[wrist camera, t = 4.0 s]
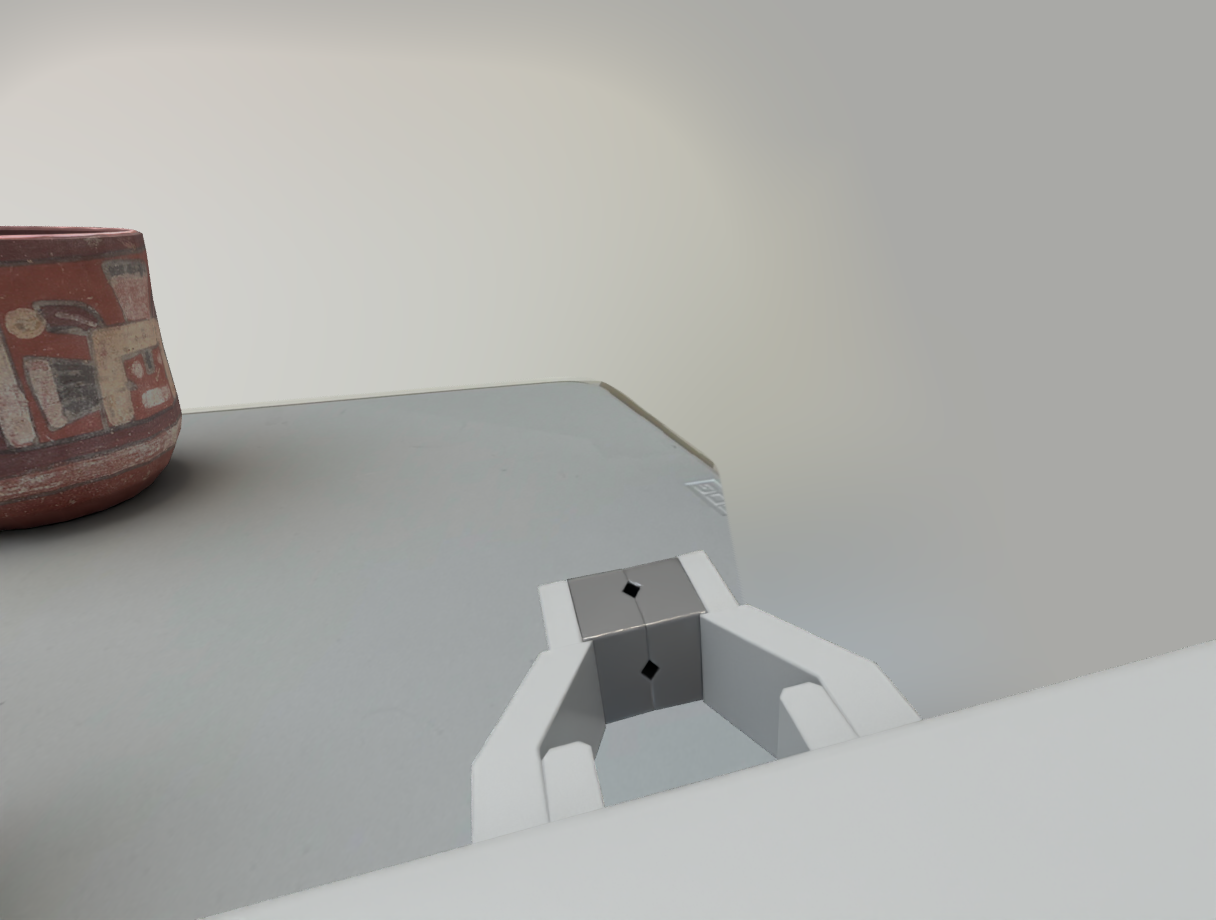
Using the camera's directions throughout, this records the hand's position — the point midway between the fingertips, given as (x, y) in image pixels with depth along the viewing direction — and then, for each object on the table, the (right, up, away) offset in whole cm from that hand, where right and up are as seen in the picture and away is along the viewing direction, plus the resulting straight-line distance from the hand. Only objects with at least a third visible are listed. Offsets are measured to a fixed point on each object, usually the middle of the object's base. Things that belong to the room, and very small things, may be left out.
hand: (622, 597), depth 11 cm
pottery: (-40, 0, +33) cm, 52 cm away
